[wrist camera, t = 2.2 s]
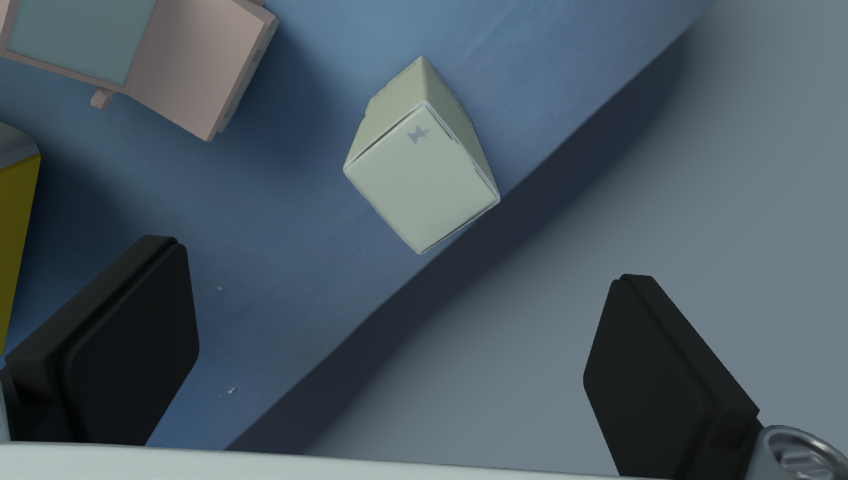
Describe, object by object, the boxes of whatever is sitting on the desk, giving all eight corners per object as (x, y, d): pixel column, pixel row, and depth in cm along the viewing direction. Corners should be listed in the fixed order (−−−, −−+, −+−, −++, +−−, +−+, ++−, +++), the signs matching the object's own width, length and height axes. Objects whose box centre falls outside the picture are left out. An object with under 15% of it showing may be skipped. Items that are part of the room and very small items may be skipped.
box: (367, 99, 30) (330, 164, 19) (424, 51, 29) (422, 90, 17) (421, 165, 32) (417, 262, 21) (477, 123, 31) (506, 201, 19)
